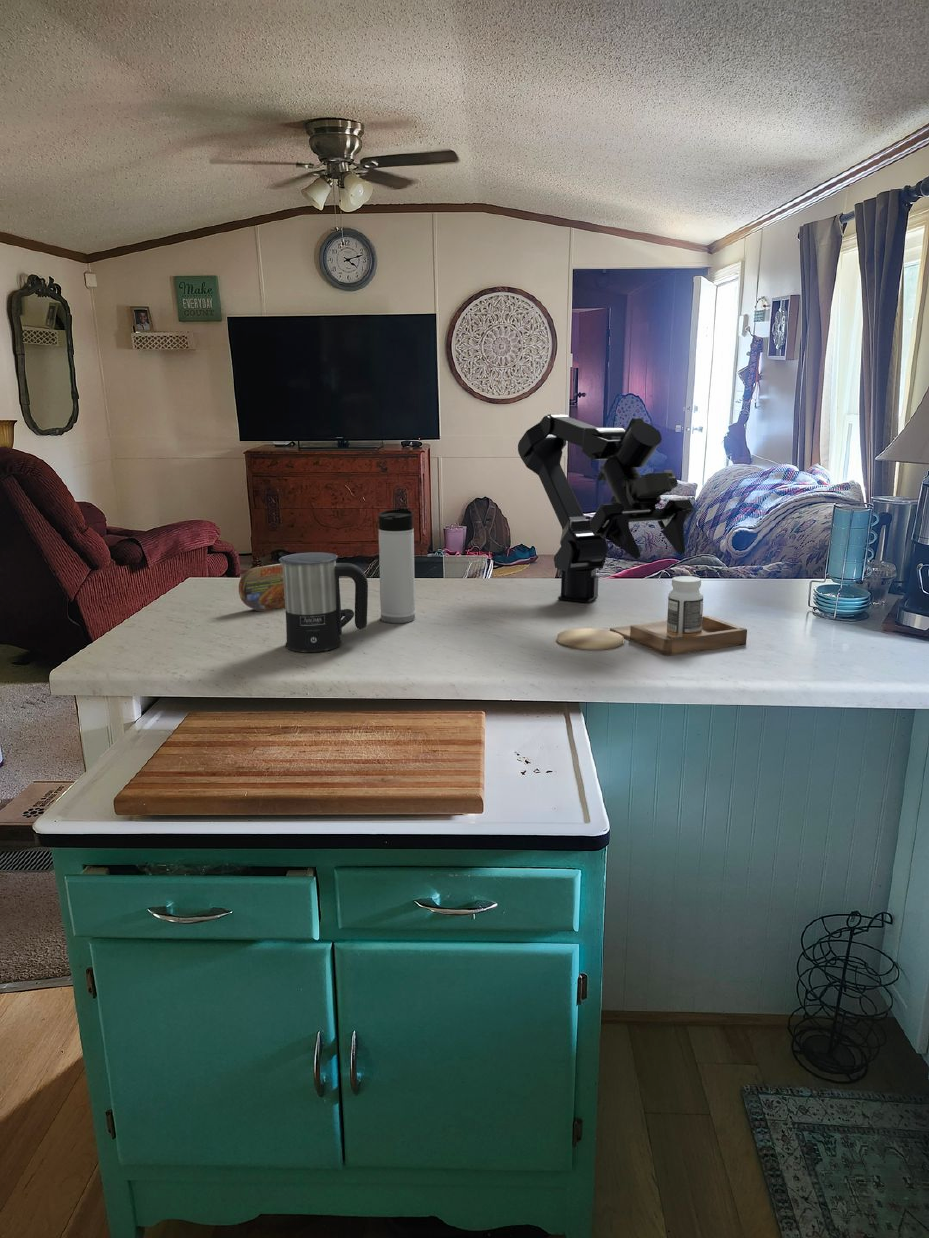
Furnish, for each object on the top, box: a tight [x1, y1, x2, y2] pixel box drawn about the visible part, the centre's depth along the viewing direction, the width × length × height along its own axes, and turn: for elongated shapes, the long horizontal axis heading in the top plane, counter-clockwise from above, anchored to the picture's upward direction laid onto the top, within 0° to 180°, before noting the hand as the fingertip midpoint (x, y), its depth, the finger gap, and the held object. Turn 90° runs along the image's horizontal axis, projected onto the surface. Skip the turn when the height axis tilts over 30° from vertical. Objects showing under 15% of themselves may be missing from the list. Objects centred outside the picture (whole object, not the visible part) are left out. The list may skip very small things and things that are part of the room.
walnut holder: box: [609, 615, 748, 657], centre depth 148 cm, size 16×16×2 cm
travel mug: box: [377, 507, 416, 624], centre depth 158 cm, size 6×7×20 cm
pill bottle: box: [666, 575, 704, 638], centre depth 145 cm, size 6×6×10 cm
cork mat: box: [556, 627, 624, 651], centre depth 146 cm, size 11×11×1 cm
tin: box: [238, 563, 285, 612], centre depth 169 cm, size 15×3×8 cm, turn 129°
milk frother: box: [278, 551, 369, 653], centre depth 146 cm, size 14×16×15 cm
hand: (661, 555), depth 150 cm, fingers open, 9 cm apart
